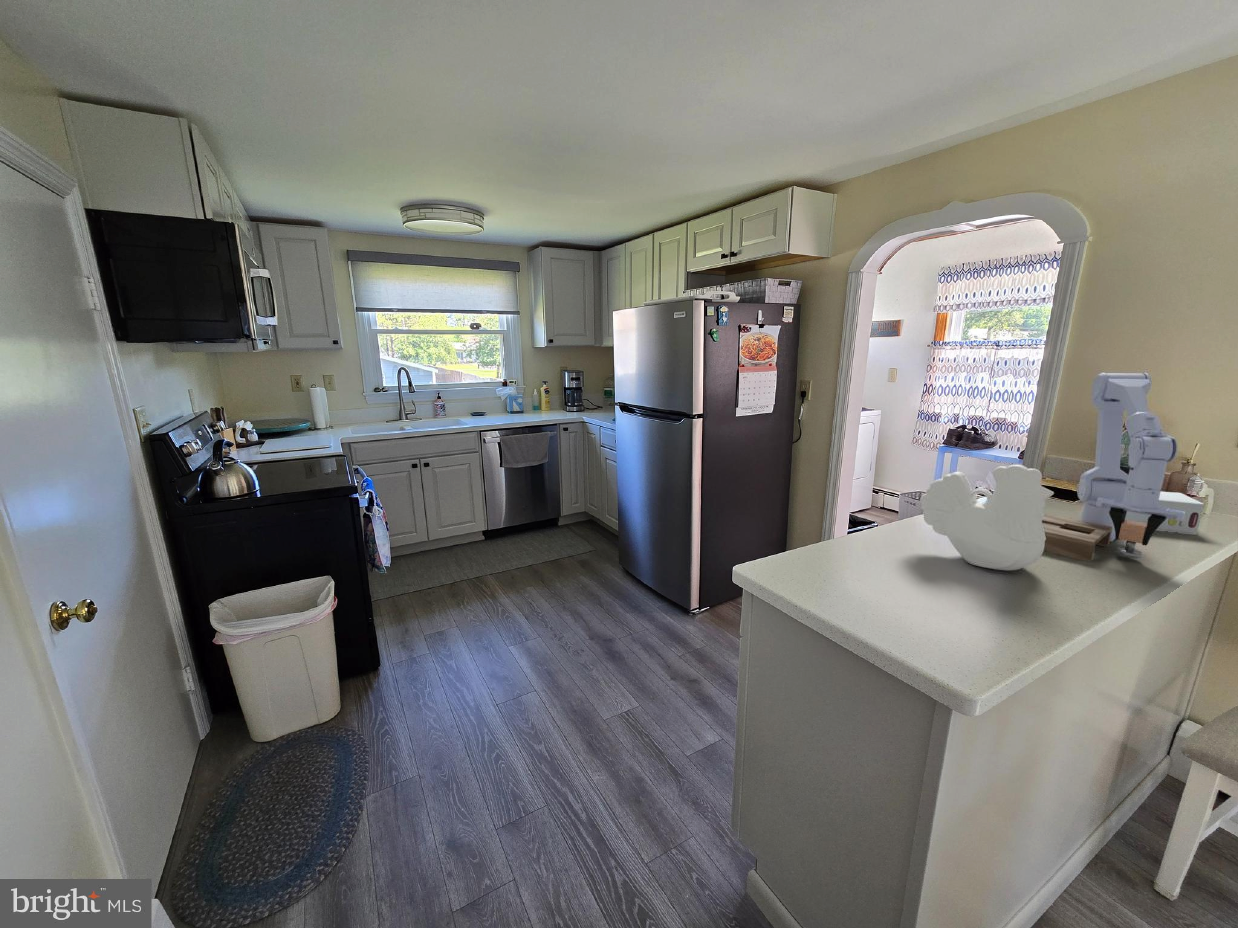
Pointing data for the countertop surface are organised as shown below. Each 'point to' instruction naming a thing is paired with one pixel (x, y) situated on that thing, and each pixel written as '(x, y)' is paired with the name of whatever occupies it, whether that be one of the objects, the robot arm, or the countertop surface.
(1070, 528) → the keyhole board
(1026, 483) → the decorative rooster
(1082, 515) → the robot arm
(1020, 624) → the countertop surface
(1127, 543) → the brown piece
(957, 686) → the countertop surface
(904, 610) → the countertop surface
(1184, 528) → the supplement box
